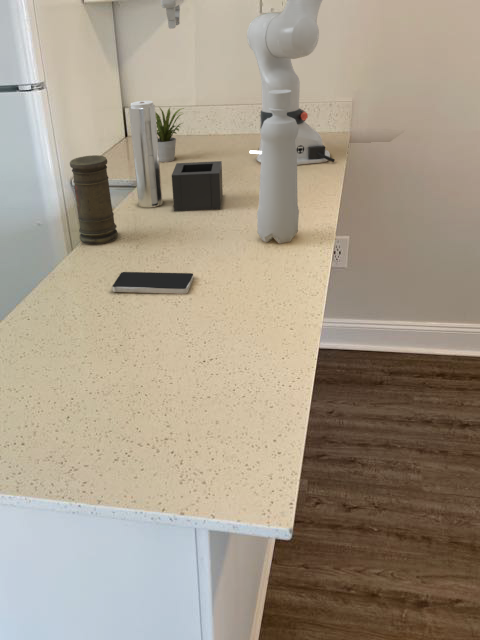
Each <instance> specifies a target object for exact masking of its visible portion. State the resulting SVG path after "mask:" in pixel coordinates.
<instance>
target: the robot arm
mask: <svg viewBox="0 0 480 640" xmlns="http://www.w3.org/2000/svg"><path fill="white" fill-rule="evenodd" d="M183 3H184V0H160V5H161V8H162V9H165V12H166V17H167V26H168V27H167V28H168V29H170V30H171V29H176V27H177V26H179V25H180V24H181V20H180V19H181V18H180V16H181V15H180V14H181V5H182V4H183ZM322 3H323V0H286V3H285V6H284V9H282V12H267V13H263V14H261V15H259V16H256V17H254V19H252V21H251V22H250V23H249V25H248V27H247V32H246V40H247V43H248V46H249V48H250V49H251V51H252V52H253V54H254V57H255V60H256V64H257V67H258V72H259V76H260V82H261V110H260V114H259V130H261V127H262V125H263V123H264V121H265V120H266V119H268V118H270V117H272V116H273V114H272V112H271V110H269V108H270V103H269V91H273V90H291V91H292V92H291V100H290V107H291V109H289V110H288V112H287V116H289V117H291V118H294V119H295V120H296V122H297V125H298V127H299V131H298V135H297V137H296V139H295V144H296V150H297V166H299V165H308V164H309V165H310V164H318V163H319V164H320V163H326V162H328V161H330V162H331V163H334V162H335V159H334V158H332V157H331V153H330V151H328V150H327V149H326V146H325V145H324V142H323V138H322V135H321V134H320V133H319V132H318V131H317V130H316V129H314V128H313V127H312V126H310V124H308V123H307V122H306V120H307V119H308V117H309V116H308V115H309V114H308V112H306V111H305V110H304V109H302V108H300V91H301V90H300V88H301V81H300V78H299V76H298V74H297V73H296V72H295V69H294V67H293V62H292V60H297V59H302V58H305V57H307V56H309V55H311V54H312V53H313V52H314V51H315V49H316V48H317V46H318V43H319V38H320V29H319V26H318V16H319V11H320V8H321V5H322ZM263 143H264V142H263V140H262V138H261V137H260V139H259V147H258V150H249V154H256V155H257V156H256V162H258V163H261V153H262V148H263Z"/></svg>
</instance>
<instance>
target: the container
mask: <svg viewBox="0 0 480 640" xmlns="http://www.w3.org/2000/svg"><path fill="white" fill-rule="evenodd" d="M107 164H108V158H107V157H106V156H105V155H98V154H97V155H95V154H93V155H85V156H83V155H82V156H79V157H75V158H73V159H71V160H70V161H69V166H70V168H71V172H72V177H73V180H72V181H73V184H74V191H75V192H74V193H75V199H76V205H77V212H78V221H79V229H78V232H79V233H80V234H79V240H80V242H81V243H82V244H85V245H93V246H94V245H103V244H108V243H111V242H113V241H114V240H116V239H117V238H118V235H119V232H118V230H117V228H118V227H117V224H116V222H115V218H114V217H115V216H114V215H115V214H114V211H113V206H112V199H111V198H112V197H111V190H110V183H109V181H110V180H109V175H108V170H107V169H108V166H107Z"/></svg>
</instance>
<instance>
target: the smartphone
mask: <svg viewBox="0 0 480 640" xmlns="http://www.w3.org/2000/svg"><path fill="white" fill-rule="evenodd" d="M193 281H194V273H192V272H155V271H154V272H151V271H150V272H149V271H148V272H147V271H145V272H144V271H122V272H120V274H119V275H118V277H117V278H116V279H115V282H114V283H113V284H112V286H111V287H112V291H113V292H114V293H142V294H143V293H144V294H145V293H147V294H178V295H179V294H180V295H181V294H183V295H185V294H188V292H189V290H190V287H191V285H192V284H193Z"/></svg>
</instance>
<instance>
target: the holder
mask: <svg viewBox="0 0 480 640" xmlns="http://www.w3.org/2000/svg"><path fill="white" fill-rule="evenodd" d="M171 187H172V201H173V203H172V204H173V211H174V212H189V211H212V210H214V211H215V210H216V211H217V210H222V209H221V208H222V202H223V196H224V195H223V193H224V191H223V162H222V160H218V161H195V162H192V161H191V162H176V164H175V166H174V168H173V172H172V173H171Z"/></svg>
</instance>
